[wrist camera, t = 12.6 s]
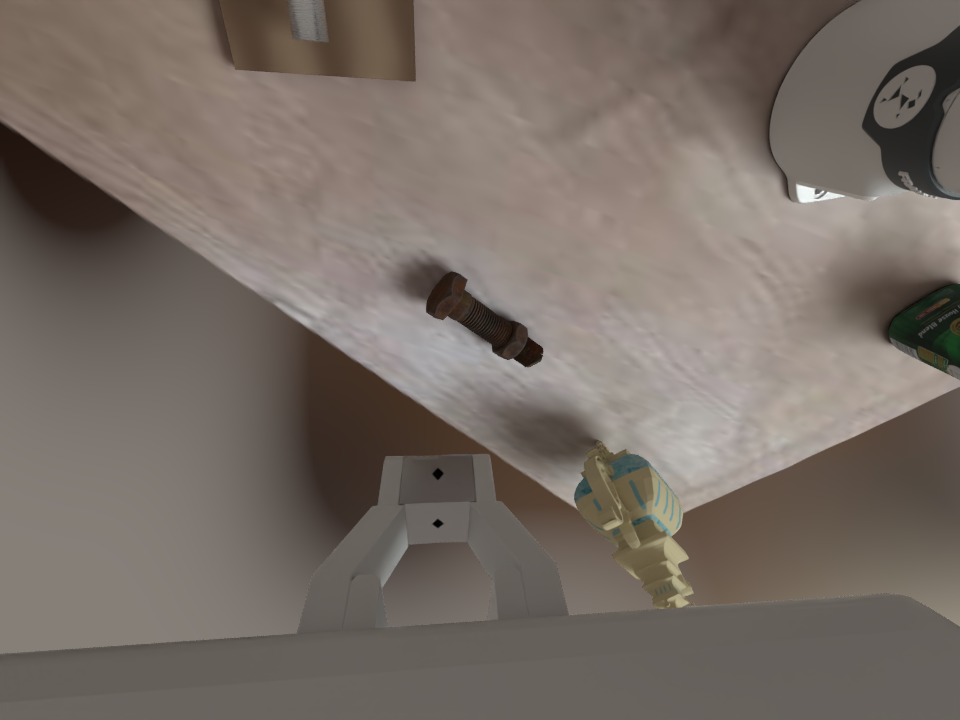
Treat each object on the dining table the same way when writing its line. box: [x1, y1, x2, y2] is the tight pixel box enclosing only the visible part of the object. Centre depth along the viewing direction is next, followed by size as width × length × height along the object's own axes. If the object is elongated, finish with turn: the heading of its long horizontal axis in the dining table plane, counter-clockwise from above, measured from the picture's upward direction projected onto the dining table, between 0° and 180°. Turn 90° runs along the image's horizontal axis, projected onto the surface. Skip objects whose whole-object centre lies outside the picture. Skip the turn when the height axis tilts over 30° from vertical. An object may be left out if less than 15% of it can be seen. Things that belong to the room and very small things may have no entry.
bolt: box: [426, 272, 543, 367], centre depth 46 cm, size 6×5×15 cm
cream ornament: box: [574, 441, 696, 609], centre depth 51 cm, size 24×12×30 cm, turn 38°
